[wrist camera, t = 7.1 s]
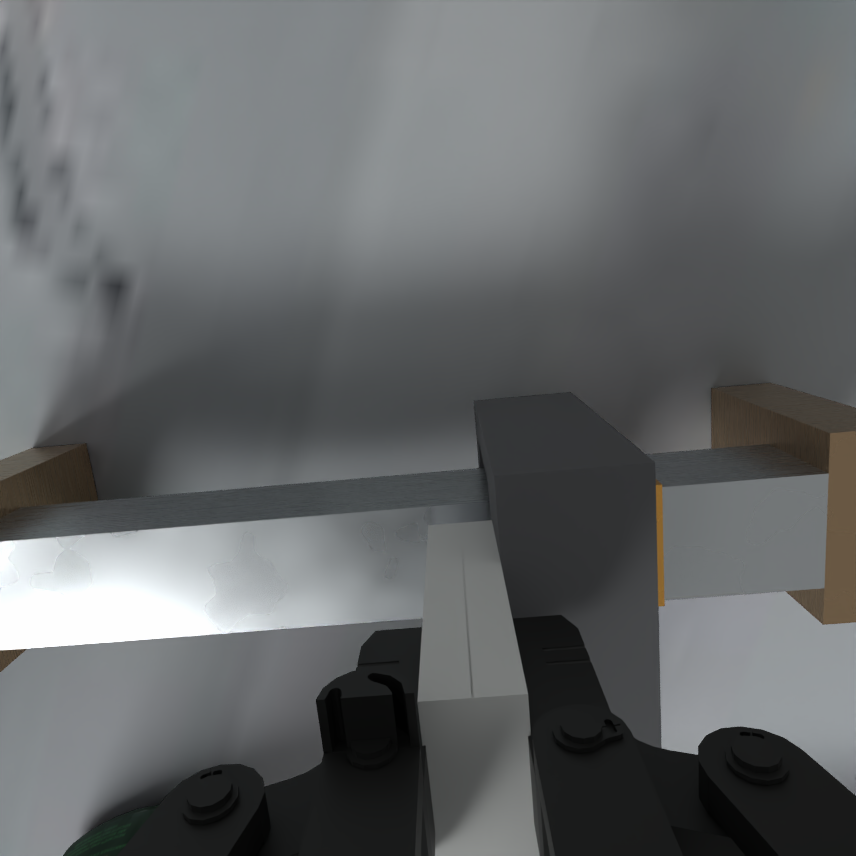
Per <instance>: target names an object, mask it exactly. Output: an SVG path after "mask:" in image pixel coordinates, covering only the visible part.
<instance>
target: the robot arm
mask: <svg viewBox="0 0 856 856" xmlns="http://www.w3.org/2000/svg"><path fill="white" fill-rule="evenodd" d="M316 704H317V711H318V718H319V724H320V731H321V738H322V744H323V751H324V755H323V759H322V763H321V764H320V765H318V766H316V767H315V768H313V769H311V770H310V771H308V772H306V773H304V774H301V775H299V776H296V777H294V778H291V779H288V780H285V781H282V782H278V783H275V784H272V785H269V786H266V787H264V782H263V778H262V777H261V776H260V775H259V774H258V773H257V771H256V770H255V769H253V768H250V767H247V766H244V765H241V764H229V765H219V766H215V767H212V768H209V769H205V770H202V771H200V772H198V773H196V774H195V775H193V776H191V777H189V778H187V779H186V780H184V781H182V782H181V783H180V784H179V785H178V786H177V787H176V788H175V789H174V790H172V791H171V792H170V793H169V794H168V795H167V796H166V797H165V799H164V800H163V801H162V802H161V803H160V805H159V806H158V807H157V808H156V809H155V811H154V812H153V813H152V814H151V815H150V817H149V818H148V819H147V820H146V821H145V823H144V824H143V825H142V826H141V827H140V829H139V830H138V831H137V832H136V833H135V835H134V836H133V837H132V838H131V839H130V841H129V842H128V843H127V844H126V845H125V847H124V848H123V849H122V850H121V851H120V853H119V854H118V855H117V856H856V796H855V795H854V794H853V793H852V792H850V791H849V790H848V789H847V788H846V787H845V786H843V785H842V784H841V783H840V782H839V781H838V780H837V779H835V778H834V777H833V776H832V775H831V774H830V773H828V772H827V771H826V770H825V769H824V768H823V767H822V766H820V765H819V764H818V763H817V762H816V761H815V760H813V759H812V758H811V757H810V756H809V755H808V754H807V753H805V752H804V751H803V750H802V749H800V748H799V747H797V746H796V745H794V744H793V743H791V742H790V741H788V740H787V739H785V738H783V737H780V736H778V735H775V734H772V733H770V732H767V731H764V730H761V729H754V728H747V727H731V728H721V729H719V730H717V731H714V732H712V733H710V734H708V735H706V736H705V738H704V739H703V740H702V742H701V743H700V745H699V746H698V755H695V754H689V753H683V752H676V751H670V750H666V749H662V748H658V747H654V746H651V745H649V744H646V743H644V742H641V741H639V740H637V739H636V738H634V737H633V734H632V732H631V731H630V729H629V728H628V726H627V725H626V724H625V722H624V721H623V720H622V719H621V718H619V717H618V716H616V715H614V714H613V713H611V711H610V708H609V705H608V703H607V700H606V698H605V695H604V693H603V690H602V688H601V685H600V683H599V680H598V677H597V675H596V672H595V670H594V667H593V665H592V662H590V657H589V655H588V652H587V650H586V648H585V644H584V642H583V639H582V637H581V634H580V632H579V629H578V628H577V627H576V626H575V625H574V624H572V623H571V622H570V621H569V620H567V619H566V618H565V617H564V616H562V615H551V616H538V617H525V618H512V614H511V610H510V605H509V600H508V595H507V590H506V585H505V581H504V576H503V571H502V566H501V562H500V557H499V552H498V547H497V543H496V538H495V533H494V528H493V524H492V520H487V521H475V522H463V523H451V524H439V525H428V540H427V556H426V572H425V588H424V604H423V620H422V627H420V628H407V629H394V630H381V631H375V632H374V633H373V634H372V635H371V637H370V638H369V639H368V640H367V641H366V642H365V643H364V644H363V645H362V646H361V651H360V655H359V659H358V667H357V668H356V671H352V672H350V673H347V674H345V675H343V676H340V677H338V678H336V679H334V680H333V681H332V682H330V683H329V684H328V685H327V686H325V687H324V688H323V689H322V691H321V692H320V694H319V696H318V697H317V699H316Z"/></svg>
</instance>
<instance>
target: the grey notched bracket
mask: <svg viewBox="0 0 856 856" xmlns="http://www.w3.org/2000/svg"><path fill="white" fill-rule="evenodd" d="M474 410H475V422H476V435H477V447H478V460H479V468H485V472H486V476H487V481H488V489H489V502H490V514H491V520H492V524H493V528H494V533H495V538H496V543H497V547H498V552H499V557H500V562H501V566H502V571H503V576H504V581H505V585H506V590H507V595H508V600H509V605H510V610H511V614H512V618H525V617H538V616H551V615H562V616H564V617H565V618H566V619H567V620H569V621H570V622H571V623H572V624H574V625H575V626H576V627H577V628H578V629H579V632H580V634H581V637H582V639H583V642H584V644H585V648H586V650H587V652H588V655H589V657H590V662H592V665H593V667H594V670H595V672H596V675H597V677H598V680H599V683H600V685H601V688H602V690H603V693H604V695H605V698H606V700H607V703H608V705H609V708H610V711H611V713H613V714H614V715H616V716H618V717H619V718H621V719H622V720H623V721H624V722H625V724H626V725H627V726H628V728H629V729H630V731H631V732H632V734H633V737H634V738H636V739H637V740H639V741H641V742H644V743H646V744H649V745H651V746H654V747H658V748H661V709H660V661H659V614H658V566H657V519H656V472H655V462H654V461H653V460H652V459H650V458H649V457H648V456H647V455H646V454H644V453H643V452H642V451H641V450H640V449H638V448H637V447H636V446H635V445H634V444H632V443H631V442H630V441H629V440H628V439H626V438H625V437H624V436H623V435H622V434H620V433H619V432H618V431H617V430H616V429H614V428H613V427H612V426H611V425H610V424H608V423H607V422H606V421H605V420H604V419H602V418H601V417H600V416H599V415H598V414H596V413H595V412H594V411H593V410H591V409H590V408H589V407H588V406H587V405H585V404H584V403H583V402H582V401H581V400H579V399H578V398H577V397H576V396H575V395H573V394H572V393H571V392H567V393H556V394H545V395H533V396H522V397H511V398H500V399H488V400H477V401H474Z"/></svg>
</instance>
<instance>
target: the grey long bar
mask: <svg viewBox="0 0 856 856" xmlns="http://www.w3.org/2000/svg"><path fill="white" fill-rule="evenodd" d="M711 441H712V449H703V450H691V451H679V452H667V453H655V454H646V455H647V456H648V457H649V458H650V459H652V460H653V461H654V462H655V472H656V519H657V566H658V606H665V604H664V600H675V599H688V598H702V597H715V596H728V595H742V594H755V593H768V592H781V591H786V592H787V593H788V594H789V595H790V596H792V597H793V598H794V599H795V600H796V601H797V602H798V603H799V604H801V605H802V606H803V607H804V608H805V609H806V610H807V611H808V612H810V613H811V614H812V615H813V616H814V617H815V618H816V619H817V620H818V621H820V622H821V623H822V624H823V625H824V624H837V623H851V622H856V408H854V407H851V406H848V405H844V404H841V403H837V402H834V401H831V400H827V399H824V398H821V397H817V396H814V395H810V394H807V393H804V392H800V391H797V390H793V389H790V388H787V387H783V386H780V385H777V384H773V383H763V384H751V385H740V386H729V387H717V388H711ZM487 520H491V514H490V502H489V489H488V481H487V476H486V472H485V468H478V469H466V470H454V471H442V472H431V473H419V474H407V475H395V476H383V477H371V478H360V479H348V480H336V481H324V482H312V483H301V484H289V485H277V486H265V487H253V488H241V489H230V490H218V491H206V492H194V493H182V494H170V495H159V496H147V497H135V498H123V499H111V500H100V501H98V497H97V492H96V487H95V483H94V478H93V473H92V468H91V464H90V459H89V454H88V450H87V445H86V443H84V444H72V445H61V446H50V447H38V448H31V449H28V450H26V451H23V452H21V453H18V454H15V455H13V456H10V457H8V458H5V459H3V460H0V672H1V671H2V670H3V669H4V668H6V667H7V666H8V665H9V664H10V663H11V662H12V661H14V660H15V659H16V658H17V657H18V656H19V655H20V654H22V653H23V652H24V651H25V650H26V649H27V648H38V647H52V646H65V645H78V644H91V643H105V642H118V641H131V640H144V639H158V638H171V637H184V636H197V635H211V634H224V633H237V632H251V631H264V630H277V629H290V628H304V627H317V626H330V625H343V624H357V623H370V622H383V621H397V620H410V619H423V604H424V588H425V572H426V556H427V540H428V525H439V524H451V523H463V522H475V521H487Z"/></svg>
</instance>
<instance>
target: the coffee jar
mask: <svg viewBox="0 0 856 856" xmlns="http://www.w3.org/2000/svg"><path fill="white" fill-rule="evenodd" d="M158 806H159V805H157V806H151V807H145V808H140V809H137V810H133V811H131V812H128V813H126V814H123V815H120V816H118V817H116V818H113V819H111V820H109V821H107V822H105V823H103V824H101V825H100V826H98V827H96V828H94V829H93V830H91V831H90V832H88V833H87V834H85V835H84V836H82V837H81V838H80V839H78V840H77V841H76V842H75V843H73V844H72V845H71V846H70V847H69V848H68V850H67V851H66V852H65V854H64V855H63V856H117V855H118V854H119V853H120V851H121V850H122V849H123V848H124V847H125V845H126V844H127V843H128V842H129V841H130V839H131V838H132V837H133V836H134V835H135V833H136V832H137V831H138V830H139V829H140V827H141V826H142V825H143V824H144V823H145V821H146V820H147V819H148V818H149V817H150V815H151V814H152V813H153V812H154V811H155V809H156V808H157V807H158Z"/></svg>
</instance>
